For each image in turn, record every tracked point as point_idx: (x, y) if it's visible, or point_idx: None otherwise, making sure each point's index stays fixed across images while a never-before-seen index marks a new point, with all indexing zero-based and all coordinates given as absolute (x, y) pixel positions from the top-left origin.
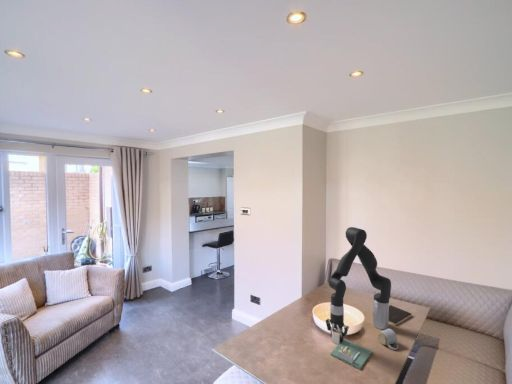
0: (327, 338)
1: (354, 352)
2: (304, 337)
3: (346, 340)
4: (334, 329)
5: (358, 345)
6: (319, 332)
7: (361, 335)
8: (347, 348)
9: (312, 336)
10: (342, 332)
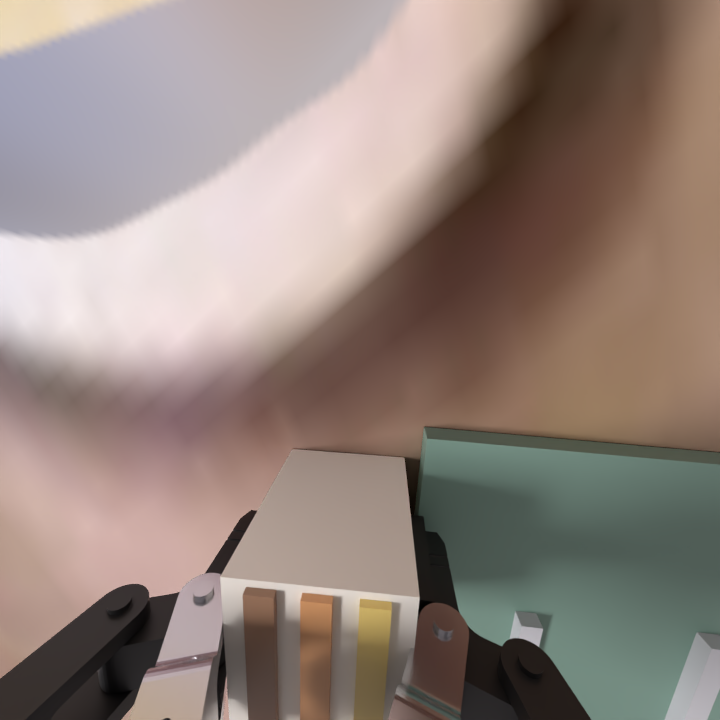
0: (219, 519)
1: (644, 651)
2: (22, 645)
3: (472, 462)
4: (230, 632)
5: (678, 473)
6: (68, 457)
7: (664, 50)
8: (536, 623)
9: (66, 584)
10: (449, 683)
